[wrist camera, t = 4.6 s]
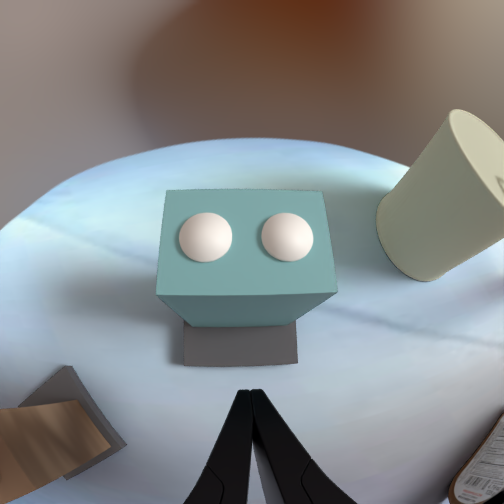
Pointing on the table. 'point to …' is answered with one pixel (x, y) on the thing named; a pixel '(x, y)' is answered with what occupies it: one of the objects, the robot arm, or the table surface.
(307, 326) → the table surface
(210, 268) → the teal block
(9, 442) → the brown box
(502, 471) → the tin
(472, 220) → the can
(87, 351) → the table surface
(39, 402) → the socket
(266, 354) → the socket
